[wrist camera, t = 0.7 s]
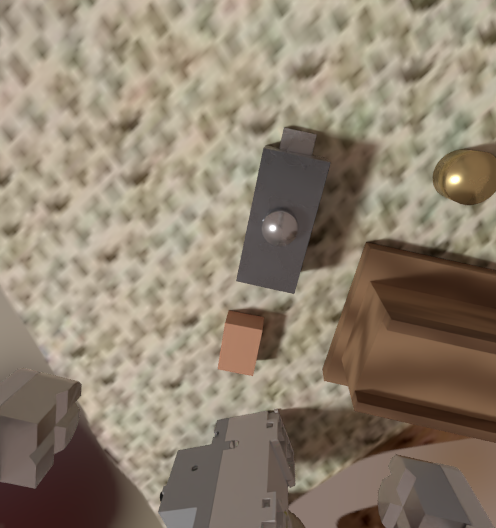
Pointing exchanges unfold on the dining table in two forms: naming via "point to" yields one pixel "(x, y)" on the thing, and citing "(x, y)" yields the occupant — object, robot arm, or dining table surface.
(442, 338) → the stand
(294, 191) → the slider plate with knob
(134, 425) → the dining table surface
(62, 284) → the dining table surface
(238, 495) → the circuit breaker
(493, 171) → the brass knob
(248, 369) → the terracotta block
